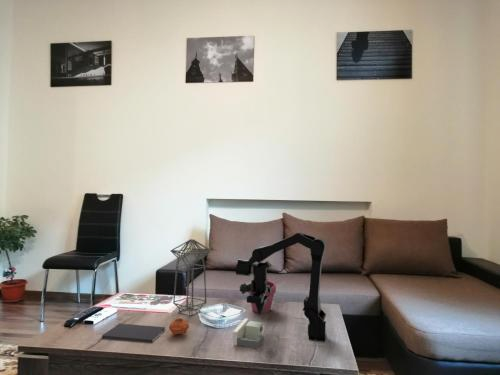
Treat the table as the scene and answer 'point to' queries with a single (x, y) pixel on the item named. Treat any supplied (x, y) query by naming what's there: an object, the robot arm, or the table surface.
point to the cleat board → (241, 332)
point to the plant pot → (269, 300)
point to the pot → (178, 326)
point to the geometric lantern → (191, 271)
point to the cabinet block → (253, 330)
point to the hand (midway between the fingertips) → (259, 313)
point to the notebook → (134, 332)
